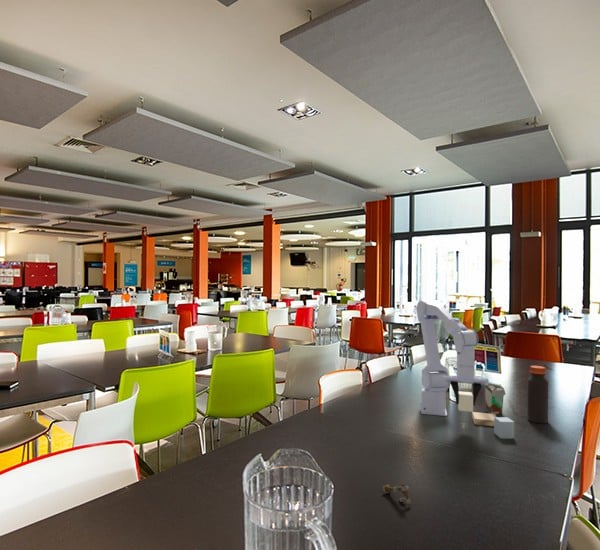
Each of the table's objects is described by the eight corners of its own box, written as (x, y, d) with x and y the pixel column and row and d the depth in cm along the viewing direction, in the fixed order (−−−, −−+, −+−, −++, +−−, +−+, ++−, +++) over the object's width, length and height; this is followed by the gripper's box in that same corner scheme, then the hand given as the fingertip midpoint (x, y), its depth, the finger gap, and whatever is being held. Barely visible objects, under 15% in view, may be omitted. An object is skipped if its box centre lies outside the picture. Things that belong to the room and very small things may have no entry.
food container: (509, 418, 158) (509, 391, 158) (492, 417, 159) (492, 390, 159) (500, 408, 170) (500, 383, 170) (484, 407, 171) (484, 382, 171)
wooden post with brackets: (410, 506, 94) (404, 484, 96) (387, 506, 100) (382, 485, 102) (415, 504, 95) (410, 483, 97) (392, 504, 101) (387, 483, 103)
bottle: (547, 419, 157) (547, 366, 157) (549, 425, 151) (549, 369, 151) (526, 416, 160) (526, 364, 160) (527, 422, 154) (528, 367, 154)
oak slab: (474, 425, 151) (474, 418, 151) (472, 418, 158) (472, 411, 159) (498, 428, 149) (499, 420, 149) (495, 420, 156) (495, 414, 156)
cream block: (459, 410, 144) (459, 394, 144) (457, 406, 148) (457, 391, 148) (473, 411, 142) (473, 395, 142) (471, 407, 147) (471, 392, 147)
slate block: (500, 438, 138) (500, 421, 138) (494, 433, 142) (494, 417, 142) (514, 438, 138) (514, 421, 138) (507, 433, 142) (507, 417, 142)
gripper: (444, 365, 143) (443, 405, 143) (490, 368, 140) (489, 409, 139) (443, 362, 150) (442, 399, 150) (486, 364, 146) (486, 403, 146)
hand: (465, 404), depth 145 cm, fingers closed on cream block, 4 cm apart
